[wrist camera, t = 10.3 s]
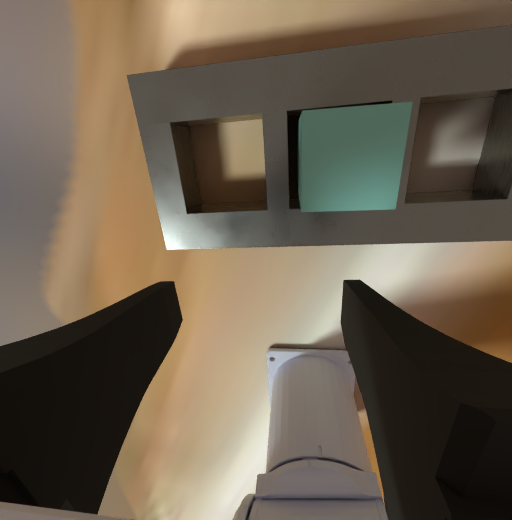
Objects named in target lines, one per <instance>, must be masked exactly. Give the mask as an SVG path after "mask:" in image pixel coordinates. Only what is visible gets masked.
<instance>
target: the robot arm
mask: <svg viewBox="0 0 512 520" xmlns="http://www.w3.org/2000/svg"><path fill="white" fill-rule="evenodd" d="M182 320H183V319H182V315H181V310H180V306H179V301H178V297H177V293H176V288H175V284H174V281H164V282H158V283H156V284H153V285H151V286H149V287H147V288H145V289H143V290H141V291H139V292H137V293H135V294H133V295H131V296H129V297H127V298H125V299H123V300H121V301H119V302H117V303H115V304H113V305H111V306H108V307H106V308H104V309H102V310H100V311H98V312H96V313H94V314H92V315H89V316H87V317H85V318H82V319H80V320H77V321H75V322H72V323H70V324H67V325H65V326H62V327H60V328H57V329H54V330H51V331H48V332H45V333H42V334H39V335H36V336H33V337H30V338H27V339H24V340H20V341H17V342H13V343H10V344H7V345H3V346H0V520H133V519H126V518H118V517H111V516H104V515H97V514H98V511H99V507H100V505H101V502H102V499H103V496H104V493H105V490H106V487H107V484H108V482H109V479H110V476H111V474H112V471H113V468H114V466H115V463H116V460H117V458H118V455H119V452H120V450H121V447H122V445H123V442H124V440H125V437H126V435H127V433H128V430H129V428H130V425H131V423H132V420H133V418H134V416H135V414H136V411H137V409H138V407H139V405H140V402H141V400H142V398H143V396H144V394H145V392H146V390H147V388H148V386H149V384H150V383H151V381H152V379H153V377H154V376H155V374H156V372H157V370H158V369H159V367H160V365H161V363H162V362H163V360H164V358H165V357H166V355H167V353H168V351H169V349H170V348H171V346H172V344H173V342H174V340H175V338H176V336H177V334H178V331H179V328H180V326H181V323H182ZM341 326H342V332H343V337H344V342H345V346H346V349H347V350H317V349H282V348H270V349H268V350H267V367H268V380H269V393H270V406H271V411H270V425H269V438H268V451H267V465H266V473H265V474H258V475H257V484H256V494H248V495H247V496H245V498H244V499H243V501H242V502H241V505H240V507H239V508H238V510H237V511H236V513H235V515H234V518H233V520H512V363H510V362H507V361H505V360H502V359H500V358H497V357H494V356H492V355H489V354H487V353H485V352H482V351H480V350H478V349H475V348H473V347H471V346H469V345H466V344H464V343H462V342H460V341H457V340H455V339H453V338H451V337H449V336H447V335H445V334H443V333H441V332H439V331H438V330H436V329H434V328H432V327H430V326H428V325H426V324H424V323H423V322H421V321H419V320H418V319H416V318H414V317H413V316H411V315H409V314H408V313H406V312H405V311H403V310H402V309H400V308H399V307H397V306H395V305H394V304H393V303H391V302H390V301H388V300H387V299H385V298H384V297H383V296H381V295H380V294H379V293H377V292H376V291H375V290H373V289H372V288H370V287H369V286H368V285H366V284H365V283H364V282H362V281H361V280H344V282H343V296H342V311H341ZM271 357H274V358H271ZM349 360H350V361H349ZM355 378H356V379H357V382H358V385H359V388H360V391H361V394H362V397H363V401H364V404H365V408H366V412H367V416H368V421H369V425H370V430H371V434H372V439H373V443H374V448H375V453H376V457H377V462H378V467H379V472H380V477H381V482H382V487H383V492H384V494H383V495H384V503H385V506H384V503H383V499H382V495H381V491H380V487H379V483H378V479H377V476H376V473H375V472H373V471H372V467H371V463H370V459H369V455H368V451H367V447H366V443H365V439H364V435H363V431H362V427H361V423H360V419H359V415H358V411H357V407H356V403H355V399H354V387H355ZM385 508H386V509H385Z"/></svg>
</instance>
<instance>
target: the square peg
mask: <svg viewBox="0 0 512 520" xmlns="http://www.w3.org/2000/svg"><path fill="white" fill-rule="evenodd" d="M412 103H413V102H402V103H390V104H378V105H365V106H353V107H341V108H328V109H316V110H304V111H302V113H301V116H300V119H299V121H298V182H297V188H298V194H299V201H300V207H301V212H324V211H358V210H391V209H396V203H397V197H398V191H399V185H400V178H401V172H402V166H403V159H404V153H405V147H406V141H407V134H408V128H409V122H410V116H411V109H412Z"/></svg>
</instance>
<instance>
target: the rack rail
mask: <svg viewBox="0 0 512 520" xmlns="http://www.w3.org/2000/svg"><path fill="white" fill-rule="evenodd" d="M127 78H128V83H129V87H130V91H131V96H132V100H133V104H134V109H135V113H136V117H137V122H138V126H139V131H140V135H141V139H142V144H143V148H144V152H145V157H146V161H147V165H148V170H149V174H150V179H151V183H152V187H153V192H154V196H155V200H156V205H157V209H158V214H159V218H160V222H161V227H162V231H163V235H164V240H165V244H166V248H167V250H173V249H210V248H248V247H286V246H323V245H361V244H399V243H437V242H474V241H512V25H507V26H499V27H491V28H484V29H476V30H468V31H461V32H453V33H445V34H438V35H430V36H422V37H415V38H407V39H399V40H392V41H384V42H377V43H369V44H361V45H354V46H346V47H338V48H331V49H323V50H315V51H308V52H300V53H292V54H285V55H277V56H269V57H262V58H254V59H246V60H239V61H231V62H223V63H216V64H208V65H200V66H193V67H185V68H177V69H170V70H162V71H155V72H147V73H139V74H132V75H127ZM491 96H496V98H495V102H494V106H493V110H492V114H491V118H490V122H489V126H488V130H487V134H486V138H485V142H484V146H483V149H482V153H481V157H480V161H479V165H478V169H477V173H476V177H475V181H474V185H473V189H472V190H464V191H445V192H426V193H406V190H407V184H408V177H409V171H410V164H411V158H412V151H413V145H414V138H415V132H416V125H417V119H418V112H419V106H420V103H430V102H440V101H450V100H460V99H471V98H481V97H491ZM402 102H413V103H412V109H411V116H410V122H409V128H408V134H407V141H406V147H405V153H404V159H403V166H402V172H401V178H400V185H399V191H398V197H397V203H396V209H391V210H358V211H324V212H301V207H300V201H299V199H291V200H289V160H288V117H287V116H296V115H301V113H302V111H304V110H316V109H328V108H341V107H353V106H365V105H378V104H390V103H402ZM254 119H263V136H264V154H265V171H266V189H267V201H252V202H233V203H213V204H201V199H200V192H199V186H198V180H197V173H196V167H195V161H194V155H193V148H192V142H191V136H190V130H189V126H192V125H203V124H213V123H223V122H234V121H244V120H254Z"/></svg>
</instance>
